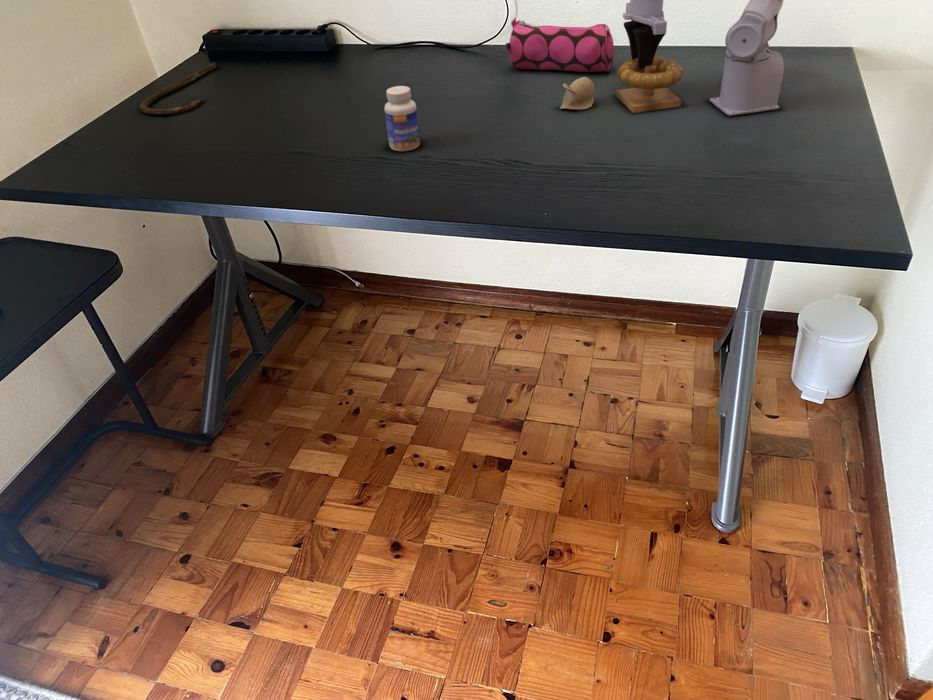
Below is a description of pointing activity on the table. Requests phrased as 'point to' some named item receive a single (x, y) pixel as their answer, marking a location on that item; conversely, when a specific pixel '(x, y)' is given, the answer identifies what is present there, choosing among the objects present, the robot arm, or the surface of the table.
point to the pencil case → (561, 47)
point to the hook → (169, 90)
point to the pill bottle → (401, 119)
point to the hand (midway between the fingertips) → (641, 65)
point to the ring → (637, 77)
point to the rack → (648, 97)
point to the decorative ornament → (578, 94)
